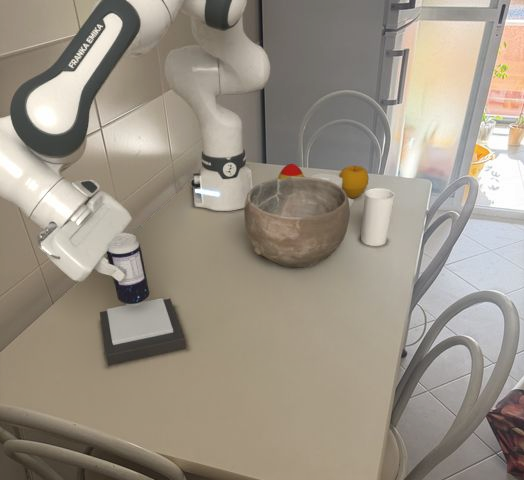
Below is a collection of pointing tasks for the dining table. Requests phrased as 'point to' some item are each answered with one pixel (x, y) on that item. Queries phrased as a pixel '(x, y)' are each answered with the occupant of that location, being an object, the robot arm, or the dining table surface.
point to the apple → (354, 180)
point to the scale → (140, 331)
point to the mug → (376, 216)
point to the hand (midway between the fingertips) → (131, 266)
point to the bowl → (296, 219)
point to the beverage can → (129, 269)
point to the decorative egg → (290, 171)
